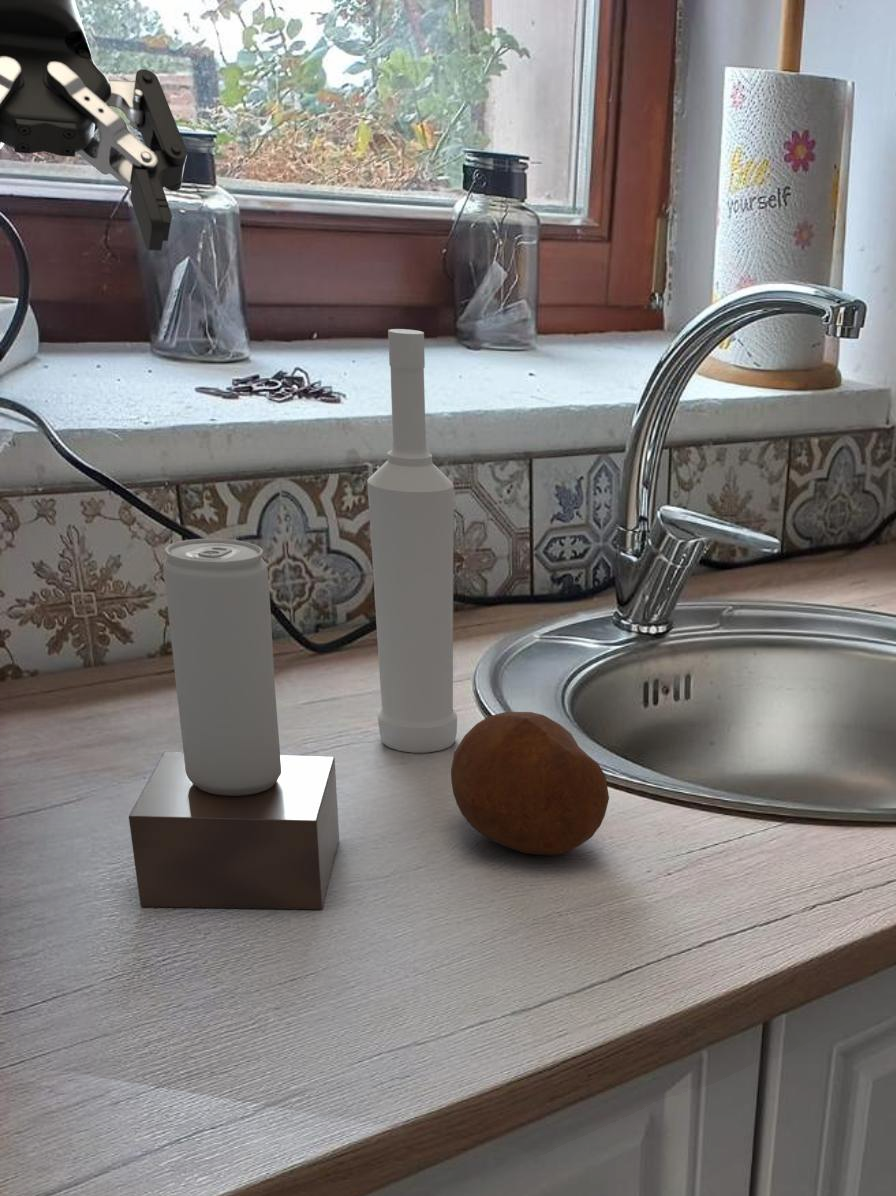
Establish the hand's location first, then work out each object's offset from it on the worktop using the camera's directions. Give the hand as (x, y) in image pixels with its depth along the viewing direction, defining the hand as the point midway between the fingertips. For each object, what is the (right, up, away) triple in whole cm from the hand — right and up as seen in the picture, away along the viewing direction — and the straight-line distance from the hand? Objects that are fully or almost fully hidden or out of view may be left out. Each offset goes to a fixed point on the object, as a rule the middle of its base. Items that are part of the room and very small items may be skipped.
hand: (76, 236), depth 83 cm
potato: (+24, -32, +6) cm, 41 cm away
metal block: (+10, -35, -1) cm, 36 cm away
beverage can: (+10, -30, -3) cm, 32 cm away
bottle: (+14, -24, +18) cm, 34 cm away
